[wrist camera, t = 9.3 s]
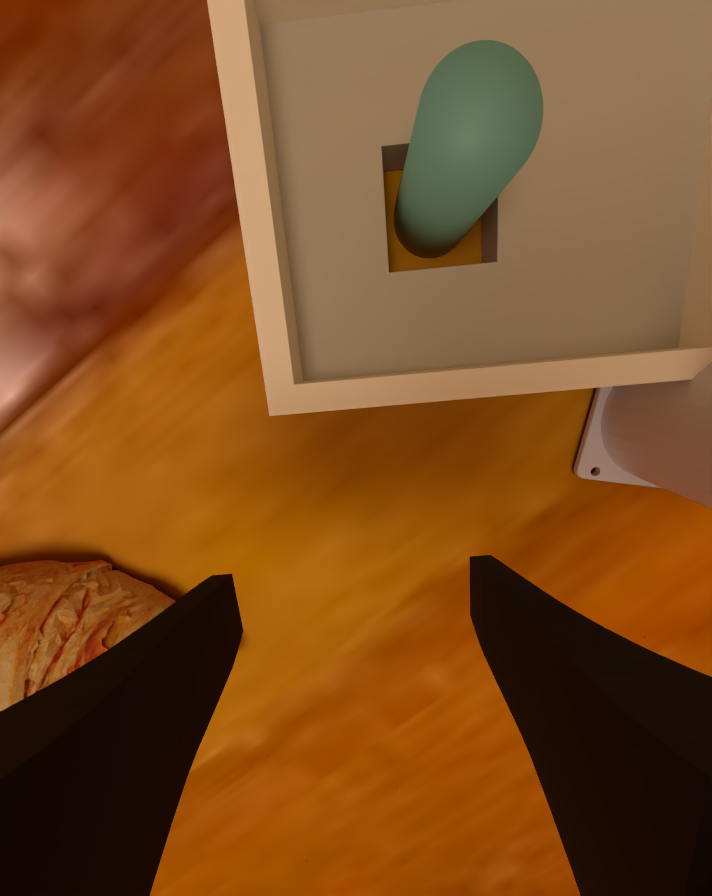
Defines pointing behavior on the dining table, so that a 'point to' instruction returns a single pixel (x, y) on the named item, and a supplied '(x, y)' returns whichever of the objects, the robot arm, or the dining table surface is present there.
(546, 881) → the dining table surface
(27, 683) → the croissant
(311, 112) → the bore tray
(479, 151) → the peg
